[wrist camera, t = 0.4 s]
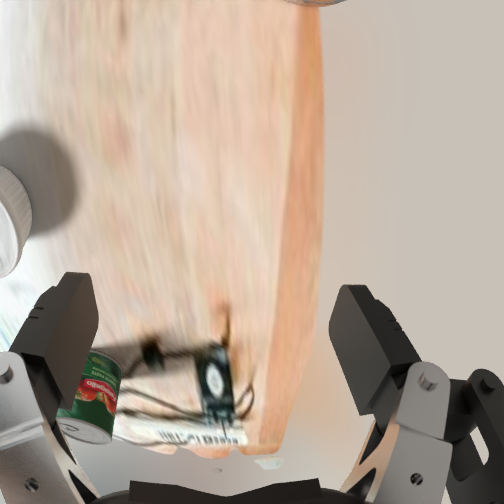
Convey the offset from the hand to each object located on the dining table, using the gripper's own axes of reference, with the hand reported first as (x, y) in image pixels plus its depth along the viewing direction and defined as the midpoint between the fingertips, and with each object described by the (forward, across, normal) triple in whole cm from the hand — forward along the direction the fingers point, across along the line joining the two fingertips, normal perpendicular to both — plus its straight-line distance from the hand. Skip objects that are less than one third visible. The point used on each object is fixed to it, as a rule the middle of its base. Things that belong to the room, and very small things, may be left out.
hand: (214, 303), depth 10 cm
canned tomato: (+21, +16, +29) cm, 39 cm away
